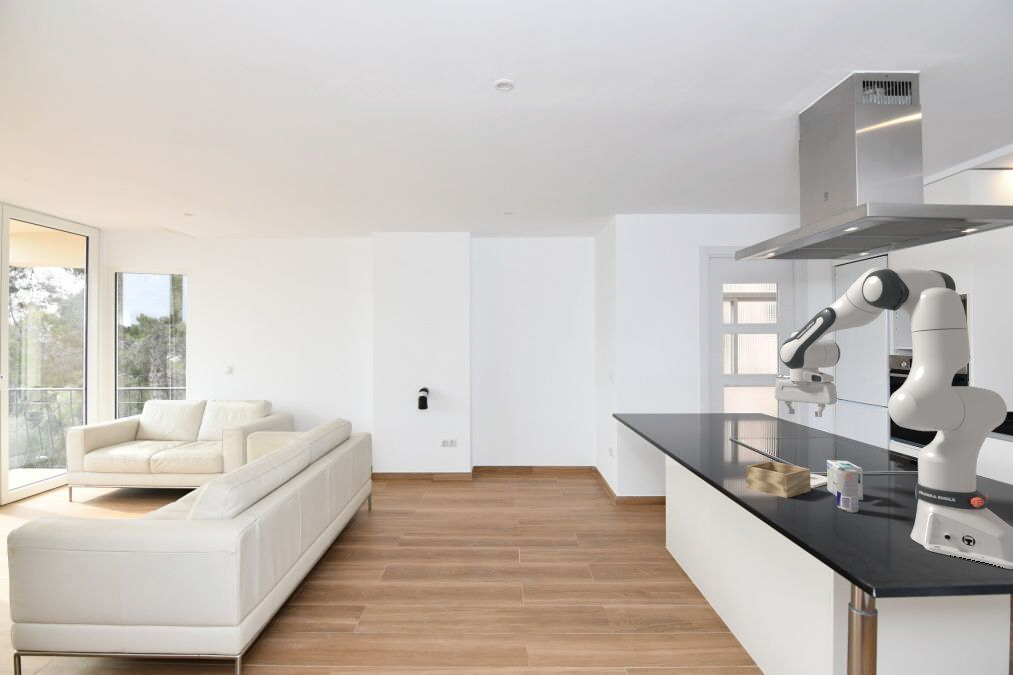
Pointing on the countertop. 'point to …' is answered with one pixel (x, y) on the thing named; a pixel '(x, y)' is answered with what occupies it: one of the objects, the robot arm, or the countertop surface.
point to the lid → (817, 480)
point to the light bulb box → (832, 476)
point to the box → (778, 479)
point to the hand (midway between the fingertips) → (804, 415)
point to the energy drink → (847, 489)
